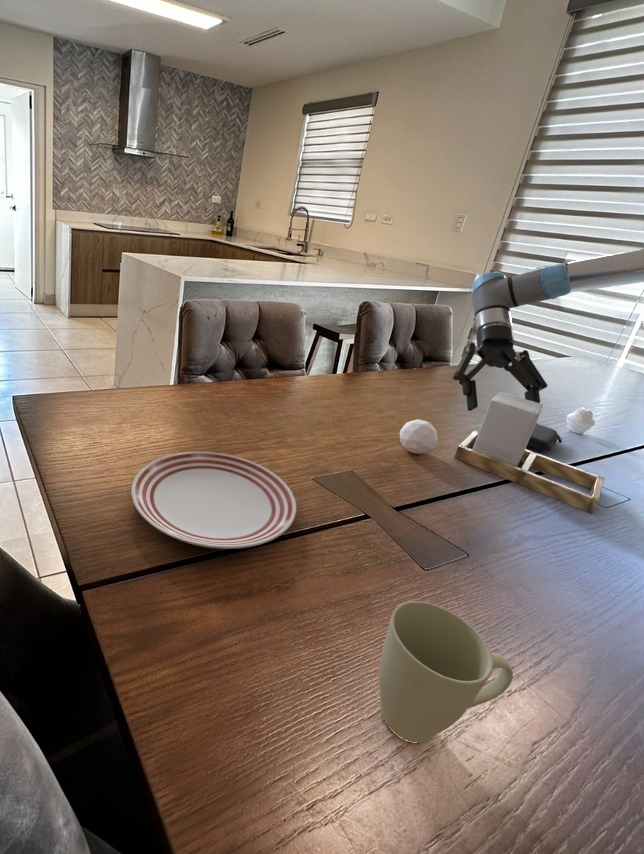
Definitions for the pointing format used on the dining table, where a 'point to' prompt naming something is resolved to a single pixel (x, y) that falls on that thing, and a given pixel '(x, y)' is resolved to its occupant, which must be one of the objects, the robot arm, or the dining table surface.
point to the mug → (434, 670)
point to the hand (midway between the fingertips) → (503, 413)
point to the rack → (536, 481)
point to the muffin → (580, 420)
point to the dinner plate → (213, 500)
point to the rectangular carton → (507, 428)
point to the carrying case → (543, 438)
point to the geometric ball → (418, 436)
